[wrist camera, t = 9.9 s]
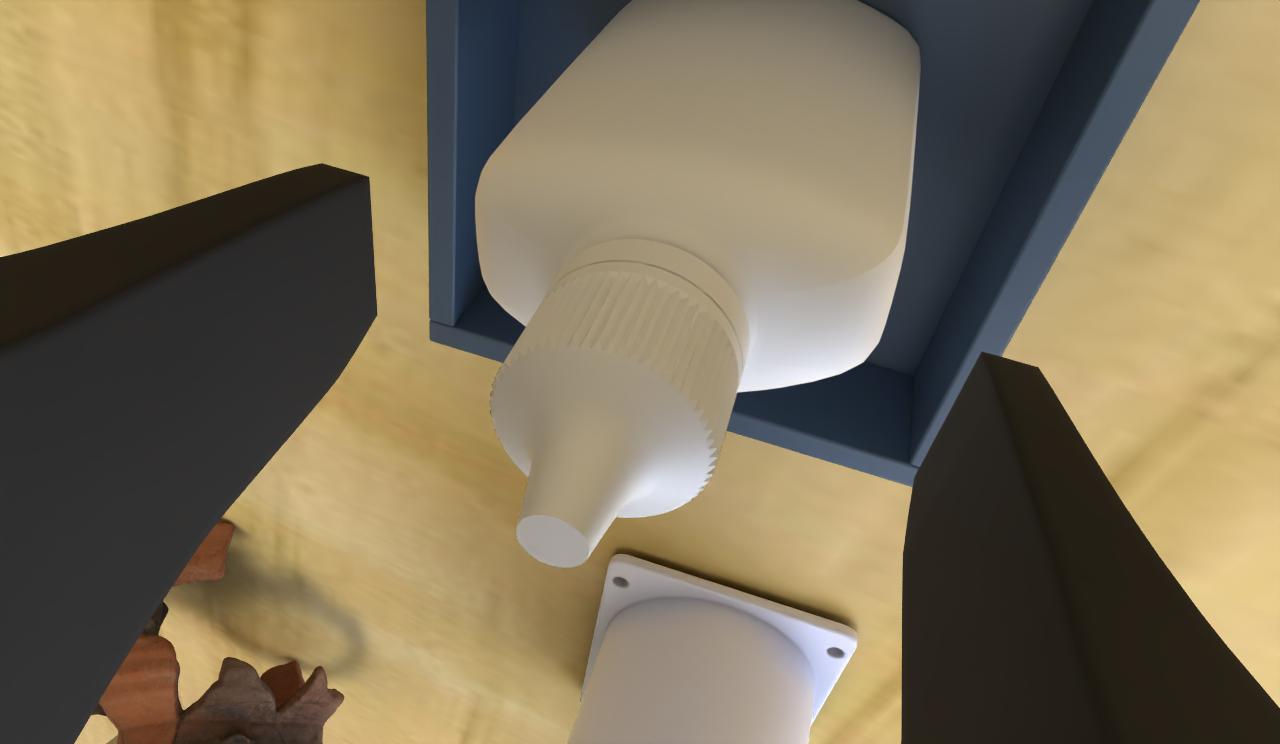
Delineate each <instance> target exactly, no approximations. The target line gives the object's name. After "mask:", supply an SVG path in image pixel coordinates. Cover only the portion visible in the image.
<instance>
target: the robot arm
mask: <svg viewBox="0 0 1280 744" xmlns="http://www.w3.org/2000/svg"><path fill="white" fill-rule="evenodd" d="M376 316H377V300H376V284H375V267H374V250H373V233H372V216H371V199H370V182H369V177H368V176H364V175H361V174H357V173H354V172H350V171H347V170H343V169H340V168H336V167H333V166H329V165H326V164H322V163H321V164H317V165H312V166H308V167H303V168H300V169H296V170H292V171H289V172H285V173H282V174H278V175H275V176H272V177H269V178H265V179H262V180H259V181H256V182H253V183H250V184H247V185H244V186H240V187H237V188H234V189H231V190H228V191H225V192H222V193H219V194H216V195H213V196H210V197H207V198H204V199H201V200H198V201H195V202H192V203H188V204H185V205H182V206H179V207H176V208H173V209H170V210H167V211H164V212H161V213H158V214H155V215H152V216H148V217H145V218H142V219H139V220H135V221H132V222H128V223H125V224H121V225H118V226H114V227H111V228H107V229H104V230H100V231H97V232H93V233H90V234H86V235H83V236H80V237H76V238H73V239H69V240H66V241H62V242H59V243H55V244H52V245H48V246H45V247H41V248H37V249H33V250H29V251H25V252H21V253H17V254H13V255H9V256H4V257H0V744H74V743H75V741H76V740H77V738H78V736H79V735H80V733H81V731H82V729H83V728H84V726H85V724H86V723H87V721H88V719H89V718H90V716H91V714H92V712H93V711H94V709H95V707H96V706H97V704H98V702H99V701H100V699H101V697H102V695H103V694H104V692H105V690H106V689H107V687H108V685H109V684H110V682H111V680H112V679H113V677H114V676H115V674H116V673H117V671H118V669H119V668H120V666H121V665H122V663H123V662H124V660H125V658H126V657H127V655H128V654H129V652H130V651H131V649H132V647H133V646H134V644H135V643H136V641H137V640H138V638H139V636H140V635H141V633H142V632H143V630H144V629H145V627H146V625H147V624H148V622H149V621H150V619H151V617H152V616H153V614H154V613H155V611H156V610H157V608H158V607H159V605H160V604H161V602H162V601H163V599H164V598H165V596H166V595H167V593H168V592H169V590H170V589H171V588H172V586H173V585H174V583H175V582H176V580H177V579H178V577H179V576H180V574H181V573H182V571H183V570H184V568H185V567H186V565H187V564H188V562H189V561H190V559H191V558H192V557H193V555H194V554H195V552H196V551H197V549H198V548H199V546H200V545H201V543H202V542H203V541H204V539H205V538H206V537H207V535H208V534H209V533H210V532H211V530H212V529H213V528H214V526H215V525H216V524H217V523H218V521H219V520H220V519H221V517H222V516H223V515H224V514H225V512H226V511H227V510H228V509H229V507H230V506H231V505H232V504H233V503H234V502H235V500H236V499H237V498H238V497H239V496H240V495H241V493H242V492H243V491H244V490H245V489H246V487H247V486H248V485H249V484H250V483H251V482H252V480H253V479H254V478H255V477H256V476H257V475H258V473H259V472H260V471H261V470H262V469H263V468H264V466H265V465H266V464H267V463H268V462H269V460H270V459H271V458H272V457H273V456H274V455H275V453H276V452H277V451H278V450H279V449H280V448H281V446H282V445H283V444H284V443H285V442H286V441H287V439H288V438H289V437H290V436H291V435H292V433H293V432H294V431H295V430H296V429H297V428H298V426H299V425H300V424H301V423H302V422H303V420H304V419H305V418H306V417H307V416H308V414H309V413H310V412H311V411H312V410H313V408H314V407H315V406H316V405H317V404H318V402H319V401H320V400H321V399H322V398H323V396H324V395H325V394H326V393H327V392H328V390H329V389H330V388H331V387H332V385H333V384H334V383H335V382H336V380H337V379H338V378H339V376H340V375H341V373H342V372H343V370H344V369H345V367H346V365H347V364H348V362H349V361H350V359H351V358H352V356H353V355H354V353H355V352H356V350H357V348H358V347H359V345H360V343H361V342H362V340H363V338H364V336H365V335H366V333H367V331H368V330H369V328H370V326H371V325H372V323H373V321H374V320H375V318H376ZM857 639H858V635H857V633H856V631H855V630H853V629H852V628H851V627H849V626H847V625H844V624H841V623H838V622H835V621H832V620H829V619H826V618H822V617H819V616H816V615H813V614H810V613H807V612H804V611H801V610H798V609H795V608H792V607H788V606H785V605H782V604H779V603H776V602H773V601H770V600H767V599H764V598H761V597H757V596H754V595H751V594H748V593H745V592H742V591H739V590H736V589H733V588H730V587H726V586H723V585H720V584H717V583H714V582H711V581H708V580H705V579H702V578H699V577H695V576H692V575H689V574H686V573H683V572H680V571H677V570H674V569H671V568H668V567H664V566H661V565H658V564H655V563H652V562H649V561H646V560H643V559H640V558H637V557H633V556H630V555H627V554H616V555H615V556H613V557H612V558H611V560H610V563H609V566H608V570H607V574H606V579H605V584H604V589H603V593H602V598H601V603H600V607H599V612H598V617H597V622H596V626H595V631H594V636H593V641H592V645H591V650H590V655H589V660H588V664H587V669H586V674H585V679H584V683H583V688H582V693H581V697H580V703H581V704H580V707H579V710H578V713H577V716H576V718H575V721H574V724H573V727H572V730H571V732H570V735H569V738H568V741H567V744H809V736H810V728H811V725H812V723H813V721H814V719H815V718H816V716H817V714H818V713H819V711H820V709H821V707H822V706H823V704H824V702H825V701H826V699H827V697H828V695H829V694H830V692H831V690H832V689H833V687H834V685H835V683H836V682H837V680H838V678H839V677H840V675H841V673H842V671H843V670H844V668H845V666H846V665H847V663H848V661H849V659H850V658H851V656H852V654H853V653H854V651H855V649H856V647H857ZM901 744H1280V708H1279V707H1278V706H1277V704H1276V703H1275V702H1274V701H1273V700H1272V699H1271V697H1270V696H1269V695H1268V694H1267V693H1266V691H1265V690H1264V689H1263V688H1262V687H1261V686H1260V684H1259V683H1258V682H1257V681H1256V680H1255V678H1254V677H1253V676H1252V675H1251V674H1250V673H1249V671H1248V670H1247V669H1246V668H1245V667H1244V665H1243V664H1242V663H1241V662H1240V661H1239V660H1238V658H1237V657H1236V656H1235V655H1234V654H1233V652H1232V651H1231V650H1230V649H1229V648H1228V647H1227V645H1226V644H1225V643H1224V642H1223V640H1222V639H1221V638H1220V637H1219V635H1218V634H1217V633H1216V632H1215V630H1214V629H1213V628H1212V627H1211V625H1210V624H1209V623H1208V621H1207V620H1206V619H1205V618H1204V616H1203V615H1202V614H1201V612H1200V611H1199V610H1198V609H1197V607H1196V606H1195V604H1194V603H1193V602H1192V600H1191V599H1190V598H1189V596H1188V595H1187V594H1186V592H1185V591H1184V589H1183V588H1182V587H1181V585H1180V584H1179V583H1178V581H1177V580H1176V579H1175V577H1174V576H1173V574H1172V573H1171V572H1170V570H1169V569H1168V568H1167V566H1166V565H1165V564H1164V562H1163V561H1162V560H1161V558H1160V557H1159V555H1158V554H1157V552H1156V551H1155V550H1154V548H1153V547H1152V545H1151V544H1150V542H1149V541H1148V539H1147V538H1146V537H1145V535H1144V534H1143V532H1142V531H1141V529H1140V528H1139V526H1138V525H1137V523H1136V522H1135V520H1134V519H1133V517H1132V516H1131V514H1130V513H1129V511H1128V510H1127V508H1126V507H1125V505H1124V504H1123V502H1122V501H1121V499H1120V498H1119V496H1118V495H1117V493H1116V491H1115V490H1114V488H1113V487H1112V485H1111V484H1110V482H1109V481H1108V479H1107V477H1106V476H1105V474H1104V473H1103V471H1102V469H1101V468H1100V466H1099V465H1098V463H1097V461H1096V460H1095V458H1094V457H1093V455H1092V453H1091V452H1090V450H1089V448H1088V447H1087V445H1086V444H1085V442H1084V440H1083V439H1082V437H1081V435H1080V434H1079V432H1078V430H1077V429H1076V427H1075V426H1074V424H1073V422H1072V421H1071V419H1070V417H1069V416H1068V414H1067V412H1066V411H1065V409H1064V407H1063V406H1062V404H1061V402H1060V401H1059V399H1058V397H1057V396H1056V394H1055V393H1054V391H1053V389H1052V388H1051V386H1050V385H1049V383H1048V381H1047V380H1046V378H1045V377H1044V375H1043V374H1042V372H1041V371H1040V369H1039V368H1038V367H1035V366H1031V365H1028V364H1024V363H1021V362H1017V361H1014V360H1010V359H1007V358H1003V357H1000V356H996V355H993V354H989V353H986V352H981V353H980V355H979V357H978V359H977V361H976V363H975V365H974V367H973V368H972V370H971V372H970V374H969V376H968V378H967V380H966V381H965V383H964V385H963V387H962V389H961V391H960V393H959V395H958V396H957V398H956V400H955V402H954V404H953V406H952V408H951V410H950V411H949V413H948V415H947V417H946V419H945V421H944V423H943V424H942V426H941V428H940V430H939V432H938V434H937V436H936V438H935V439H934V441H933V443H932V445H931V447H930V449H929V451H928V453H927V454H926V456H925V458H924V460H923V462H922V464H921V466H920V467H919V469H918V471H917V473H916V475H915V477H914V483H913V489H912V495H911V502H910V508H909V515H908V521H907V529H906V536H905V544H904V551H903V587H902V740H901Z"/></svg>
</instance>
